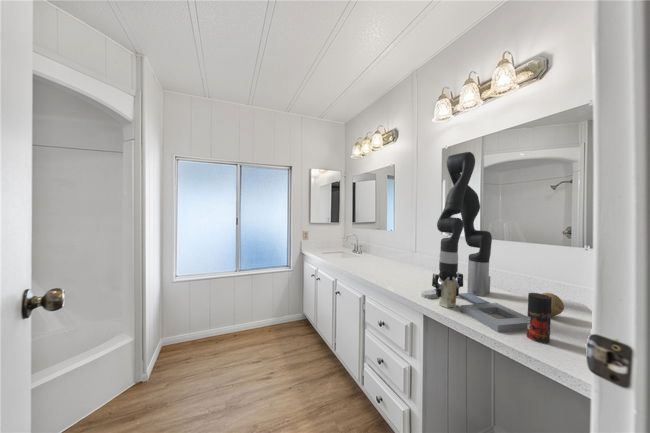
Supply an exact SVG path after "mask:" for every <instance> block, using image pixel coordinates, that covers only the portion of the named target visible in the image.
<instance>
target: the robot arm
mask: <svg viewBox="0 0 650 433" xmlns="http://www.w3.org/2000/svg"><path fill="white" fill-rule="evenodd" d="M475 165H476V157H475V154H474V153H473V152H470V151H467V152H466V151H465V152H461V153H456V154H451V155H448V156H447V159H446V168H447V171H448V175H449V176H450V180H451V182H452V184H453V185H452V187H451V188H450V190H449V191H448V193H447V196H446V200H445V205H444V208H443V209H442V212H441V214H440V216H439V218H438V220H437V222H436V227H437V228H436V229H437V230H438V231H439V232H440V233H446V234H451V236H450V237H444V238H441V240H440V252H439V264H438V266H439V267H438V270H439V273H433V274H432V278H431V279H432V280H431V286H432V287H433V288H434V289H436V295H437V296H438V298H439V297H441V288H442V287H443V286H444V285H445V284H446V281H448V280H453V281H454V282H455V284H456V297H459V296H458V294H460V288H463V287H464V274H463V273H460V272H458V270H459V269H458V268H459V240H460V238H461V235H462V233H464V238H465V243H466V245H467V246H468V247H470V248H476V249H477V248H478V251H477V252H474V253H471V254H469V255H468V259H467V260H468V263H467V293H470V294H472V295H474V296H477V297H478V296H480V297H487V296H489V295H490V293H491V276H490V274H489V273H490V258H491V254H492V253H491V252H492V251H491V250H492V240H493V238H492V234H491V232H490V231H488V230H479V229H478V230H477V229H475V224H474V222H475V220H476V217H477V216H478V214H479V212H480V210H481V203H480V200H479V195H478V193H477V192H476V191H475V190H474V189H473V188H472V187H471V186H470V185H469V183H470V181H471V178H472V176H473V172H474V169H475V167H476V166H475ZM458 214H460V216H461V218H460V217H452V216H454V215H458ZM463 231H464V232H463ZM440 279H441V280H442V281H443V282H440ZM456 280H457V281H456Z"/></svg>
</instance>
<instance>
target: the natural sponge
mask: <svg viewBox="0 0 650 433" xmlns="http://www.w3.org/2000/svg"><path fill="white" fill-rule="evenodd" d="M542 294H544V295H547V296H550V297H551V298H552V302H551V318H553V317H556V316H558V315H560V314H562V312H563V311H564V309H565V305H564V302H563V300H562V299H561V297H559V296H558V295H555V294H554V293H551V292H543V293H542Z"/></svg>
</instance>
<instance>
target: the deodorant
mask: <svg viewBox="0 0 650 433" xmlns="http://www.w3.org/2000/svg"><path fill="white" fill-rule="evenodd" d="M551 302H552V298H551V297H550V296H547V295H544V294H543V293H539V292H529V293H528V297H527V315H526V316H527V329H526V337H527V338H528V339H529V340H531V341H532V342H536V343H538V344H539V343H540V344H546V345H547V344H549V343H550V338H551V320H552V317H551Z"/></svg>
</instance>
